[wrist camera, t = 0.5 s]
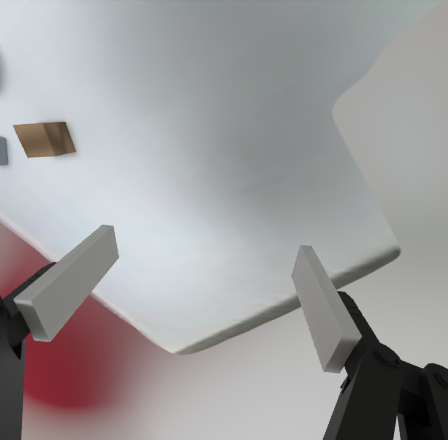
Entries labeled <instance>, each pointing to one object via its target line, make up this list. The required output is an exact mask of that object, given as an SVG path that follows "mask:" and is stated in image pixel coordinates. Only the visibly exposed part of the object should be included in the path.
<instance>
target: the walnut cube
mask: <svg viewBox="0 0 448 440" xmlns="http://www.w3.org/2000/svg"><path fill="white" fill-rule="evenodd" d="M13 127H14V129H15V131H16V133H17V136H18V138H19V140H20V142H21V144H22V146H23V148H24V151H25V153H26V155H27V157H28V158H31V157H47V156H58V155H62V154H67V153H71V152H75V148H74V145H73V142H72V140H71V137H70V134H69V131H68V129H67V126H66V123H65V122H55V123H36V124H22V125H13Z"/></svg>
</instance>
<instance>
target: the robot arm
mask: <svg viewBox="0 0 448 440" xmlns="http://www.w3.org/2000/svg"><path fill="white" fill-rule="evenodd" d="M118 258H119V255H118V250H117V244H116V238H115V232H114V226H110V225H102V226H100V227H99V228H98V229H97V230H96V231H94V232H93V233H92V234H91V235H90V236H88V237H87V238H86V239H85V240H84V241H82V242H81V243H80V244H79V245H78V246H76V247H75V248H74V249H73V250H72V251H70V252H69V253H68V254H67V255H66V256H64V257H63V258H62V259H61V260H60V261H58V262H53V263H51V264H49V265H47V266H45V267H43V268H41V269H40V270H39V271H38V272H36V273H35V274H34V276H31V277H30V278H29V279H28V280H27V281H25V282H24V283H23V284H21V285H20V286H19V287H18V288H16V289H15V290H14V291H13V292H11V293H10V294H9V295H8V296H6V297H5V298H4V299H2V298H1V297H0V440H21V431H22V411H23V390H24V370H25V351H26V343H25V340H24V338H25V337H26V336H27V335H28V334H29V333H31V335H32V337H33V339H34V340H37V341H46V342H51V340H52V339H53V338H54V337H55V335H56V334H57V333H58V332H59V330H60V329H61V328H62V327H63V326H64V324H65V323H66V322H67V321H68V319H69V318H70V317H71V316H72V314H73V313H74V312H75V311H76V310H77V308H78V307H79V306H80V304H81V303H82V302H83V301H84V300H85V298H86V297H87V296H88V295H89V294H90V292H91V291H92V290H93V289H94V288H95V286H96V285H97V284H98V283H99V281H100V280H101V279H102V278H103V276H104V275H105V274H106V273H107V272H108V270H109V269H110V268H111V267H112V265H113V264H114V263H115V262H116V261H117V259H118ZM291 276H292V279H293V282H294V285H295V288H296V291H297V294H298V297H299V300H300V303H301V306H302V309H303V312H304V315H305V318H306V321H307V324H308V327H309V330H310V333H311V336H312V339H313V342H314V345H315V348H316V350H317V354H318V356H319V360H320V363H321V365H322V369H323V371H324V372H333V373H340V372H341V370H342V368H343V367H345V369H346V372H347V374H348V376H347V377H346V379H345V380H344V382H343V384H342V385H341V387H340V388H342V390H341V392H340V395H339V398H338V401H337V403H336V406H335V408H334V411H333V414H332V416H331V419H330V422H329V424H328V427H327V430H326V432H325V435H324V437H323V440H393V437H394V431H395V424H396V417H398V424H399V431H400V438H401V440H448V369H447V368H445V367H443V366H440V365H437V364H435V363H430V364H428V365H426V366H425V367H424V368H420V367H417V366H415V365H412V364H410V363H407V362H405V361H402V360H401V359H400V358H399V356H398V355H397V354H396V353H395V352H394V351H393V350H391V349H390V348H389V347H387V346H386V345H383V344H381V343H380V342H379V340H378V339H377V337H376V336H375V334H374V332H373V331H372V329H371V328H370V326H369V325H368V323H367V321H366V319H365V318H364V316H362V313H361V311H360V310H359V309H358V307H357V305H356V304H355V302H354V300H353V299H352V298H351V297H350V296H349V295H347V294H346V292H341V291H336V289H335V287H334V286H333V284H332V282H331V280H330V278H329V277H328V275H327V273H326V271H325V269H324V268H323V266H322V264H321V262H320V261H319V259H318V257H317V255H316V253H315V252H314V250H313V248H312V246H304V245H300V248H299V252H298V255H297V258H296V262H295V265H294V268H293V272H292V275H291Z"/></svg>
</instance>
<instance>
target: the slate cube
mask: <svg viewBox="0 0 448 440" xmlns="http://www.w3.org/2000/svg"><path fill="white" fill-rule="evenodd" d="M6 164H8V156H7V144H6V138H3V137H0V166H1V165H6Z"/></svg>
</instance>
